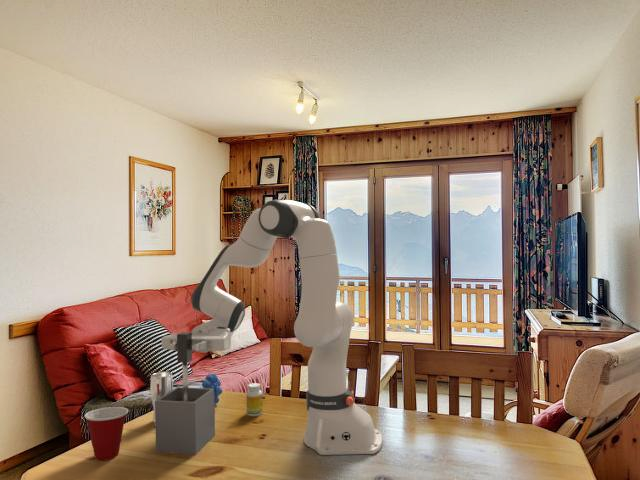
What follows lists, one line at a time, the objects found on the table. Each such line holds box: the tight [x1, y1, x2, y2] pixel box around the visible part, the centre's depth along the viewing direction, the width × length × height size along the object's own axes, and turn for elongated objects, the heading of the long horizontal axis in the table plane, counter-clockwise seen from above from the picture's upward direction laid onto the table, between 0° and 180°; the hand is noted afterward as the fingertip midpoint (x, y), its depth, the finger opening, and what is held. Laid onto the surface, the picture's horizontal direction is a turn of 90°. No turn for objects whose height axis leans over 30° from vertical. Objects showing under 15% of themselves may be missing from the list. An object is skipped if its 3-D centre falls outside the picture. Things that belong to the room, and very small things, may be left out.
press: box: [154, 386, 216, 455], centre depth 126 cm, size 12×12×14 cm
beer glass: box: [150, 371, 174, 425], centre depth 143 cm, size 7×7×15 cm
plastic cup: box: [84, 406, 130, 461], centre depth 120 cm, size 11×11×12 cm
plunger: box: [176, 331, 194, 402], centre depth 126 cm, size 9×9×22 cm
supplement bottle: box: [245, 382, 264, 417], centre depth 147 cm, size 5×5×10 cm
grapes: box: [201, 373, 223, 407], centre depth 153 cm, size 12×7×12 cm, turn 165°
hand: (183, 347), depth 125 cm, fingers open, 5 cm apart
